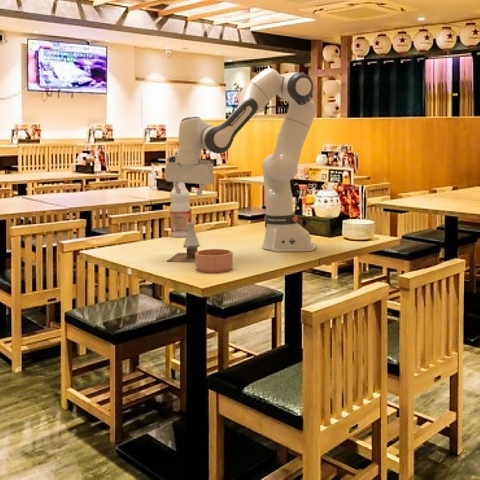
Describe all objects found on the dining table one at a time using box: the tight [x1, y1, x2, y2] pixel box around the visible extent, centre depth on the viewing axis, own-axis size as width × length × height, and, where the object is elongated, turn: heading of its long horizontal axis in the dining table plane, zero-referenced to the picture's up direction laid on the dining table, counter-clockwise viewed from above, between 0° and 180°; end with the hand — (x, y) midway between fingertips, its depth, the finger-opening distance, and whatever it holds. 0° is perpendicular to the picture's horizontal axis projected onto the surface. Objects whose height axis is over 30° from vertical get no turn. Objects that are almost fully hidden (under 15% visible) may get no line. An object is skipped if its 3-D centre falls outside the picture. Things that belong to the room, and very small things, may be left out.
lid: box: [166, 246, 198, 264], centre depth 255 cm, size 16×16×5 cm
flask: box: [183, 222, 201, 248], centre depth 280 cm, size 7×7×10 cm
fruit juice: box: [169, 182, 192, 238], centre depth 305 cm, size 9×9×28 cm
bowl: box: [194, 248, 234, 274], centre depth 235 cm, size 13×13×6 cm
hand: (188, 194), depth 256 cm, fingers open, 8 cm apart
